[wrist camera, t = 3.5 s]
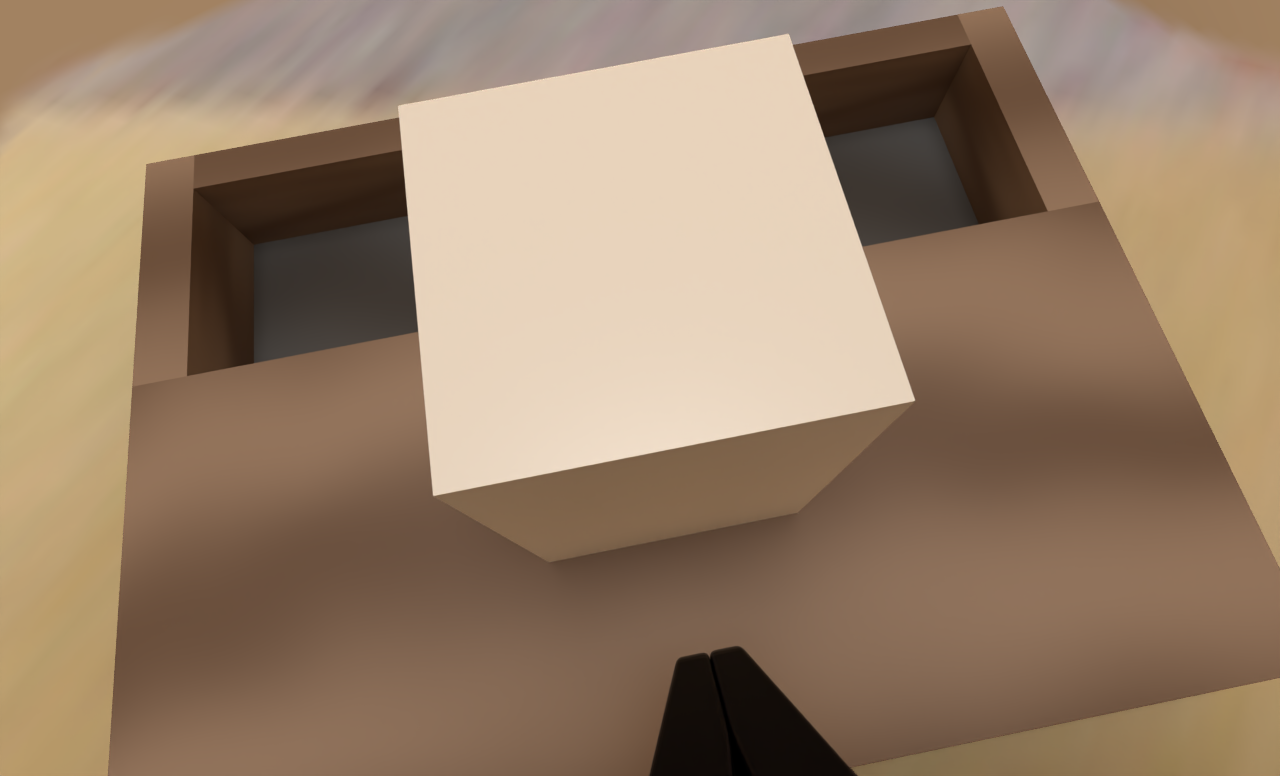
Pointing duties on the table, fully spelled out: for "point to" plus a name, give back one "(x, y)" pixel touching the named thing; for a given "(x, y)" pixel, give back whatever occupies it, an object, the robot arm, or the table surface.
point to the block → (640, 301)
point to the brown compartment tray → (691, 564)
